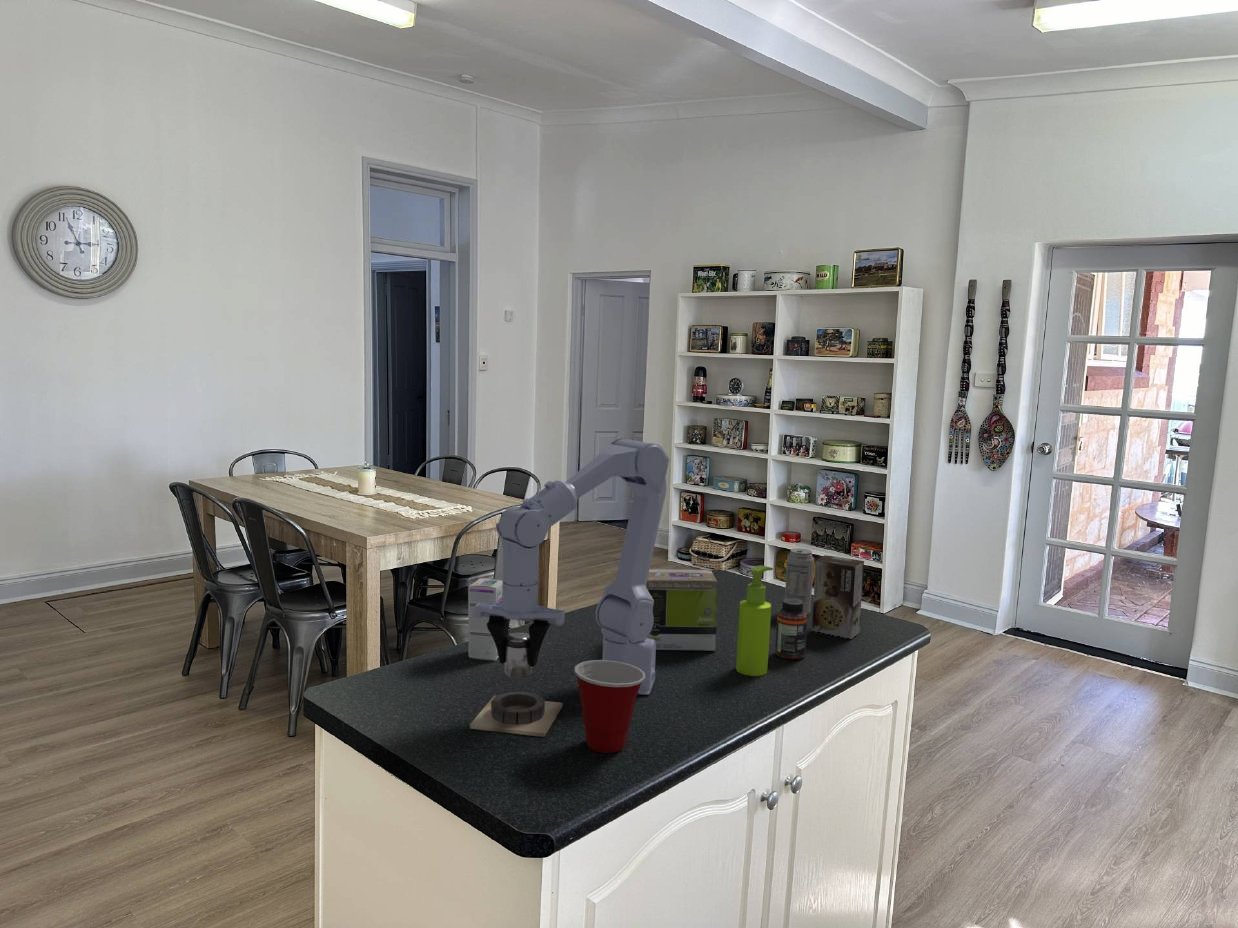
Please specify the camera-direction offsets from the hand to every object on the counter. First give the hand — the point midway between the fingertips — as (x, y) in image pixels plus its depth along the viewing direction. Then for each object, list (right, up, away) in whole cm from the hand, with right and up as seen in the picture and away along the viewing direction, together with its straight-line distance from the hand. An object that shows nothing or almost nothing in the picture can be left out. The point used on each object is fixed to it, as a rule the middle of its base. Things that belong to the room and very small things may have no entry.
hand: (518, 662), depth 143 cm
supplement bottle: (+51, -6, +33) cm, 61 cm away
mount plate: (0, -9, 0) cm, 9 cm away
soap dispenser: (+42, -7, +25) cm, 49 cm away
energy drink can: (+58, -3, +61) cm, 84 cm away
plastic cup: (+15, -11, -9) cm, 20 cm away
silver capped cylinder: (0, -2, 0) cm, 2 cm away
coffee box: (+64, -5, +49) cm, 81 cm away
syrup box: (-9, -5, +28) cm, 30 cm away
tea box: (+28, -5, +38) cm, 48 cm away
